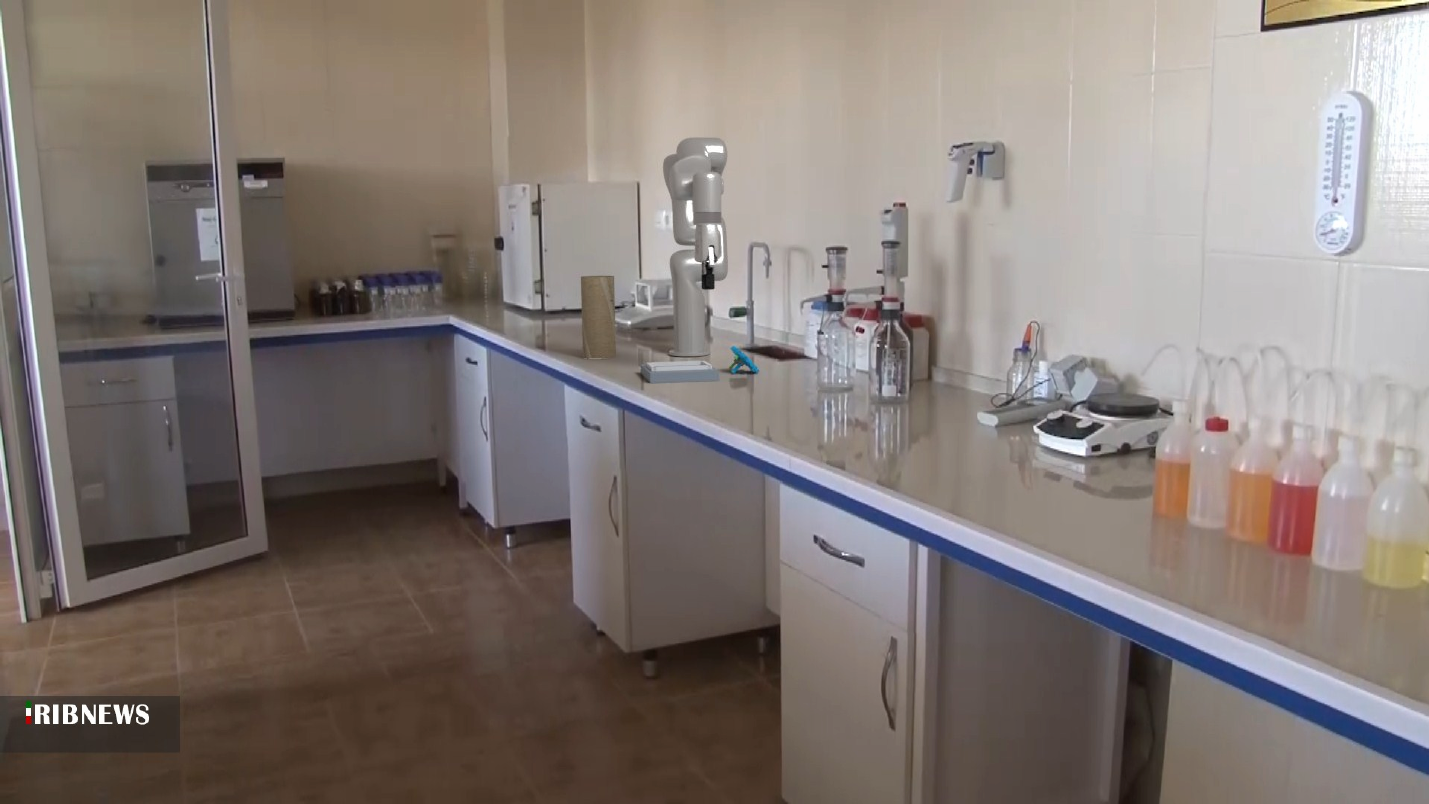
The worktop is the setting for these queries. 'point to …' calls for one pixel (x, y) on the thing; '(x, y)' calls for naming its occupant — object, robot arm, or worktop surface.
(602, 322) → the tube
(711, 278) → the robot arm
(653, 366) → the plate
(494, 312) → the worktop surface
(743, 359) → the blue cogwheel with peg
